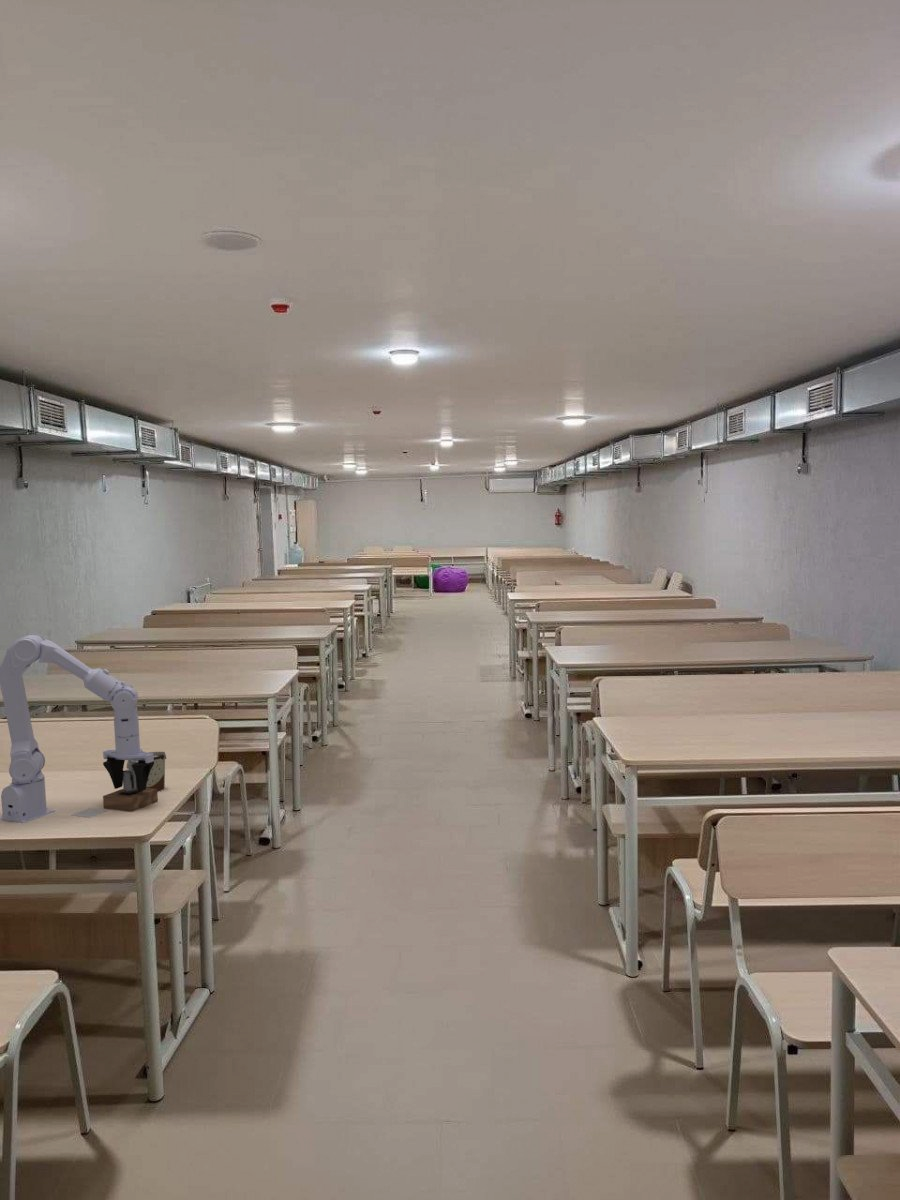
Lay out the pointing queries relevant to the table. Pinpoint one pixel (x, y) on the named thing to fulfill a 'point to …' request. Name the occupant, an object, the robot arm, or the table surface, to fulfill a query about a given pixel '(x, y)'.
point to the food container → (154, 771)
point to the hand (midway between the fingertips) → (130, 788)
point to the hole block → (130, 800)
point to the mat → (89, 813)
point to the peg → (129, 782)
